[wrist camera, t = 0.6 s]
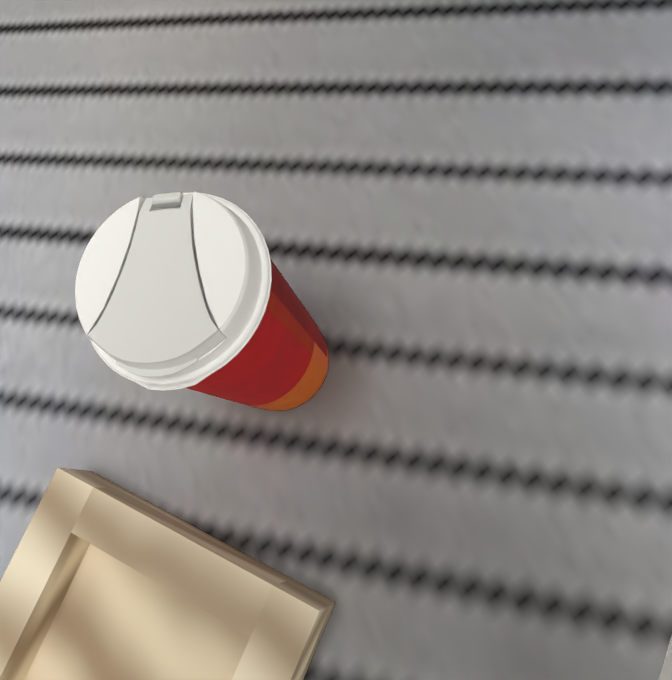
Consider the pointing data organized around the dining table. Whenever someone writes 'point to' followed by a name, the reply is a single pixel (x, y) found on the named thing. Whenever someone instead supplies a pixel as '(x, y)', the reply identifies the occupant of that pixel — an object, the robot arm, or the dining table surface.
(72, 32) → the dining table surface
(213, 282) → the paper cup
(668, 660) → the robot arm
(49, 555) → the tray
